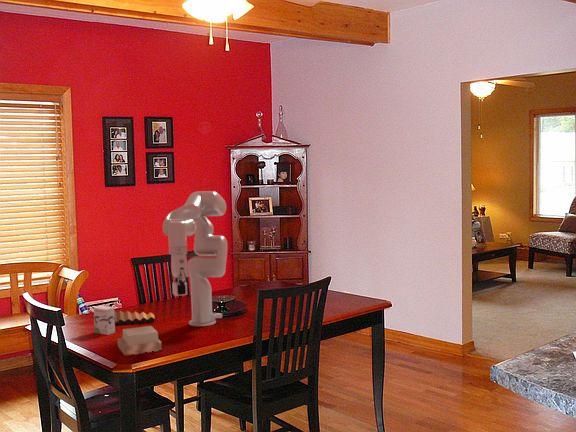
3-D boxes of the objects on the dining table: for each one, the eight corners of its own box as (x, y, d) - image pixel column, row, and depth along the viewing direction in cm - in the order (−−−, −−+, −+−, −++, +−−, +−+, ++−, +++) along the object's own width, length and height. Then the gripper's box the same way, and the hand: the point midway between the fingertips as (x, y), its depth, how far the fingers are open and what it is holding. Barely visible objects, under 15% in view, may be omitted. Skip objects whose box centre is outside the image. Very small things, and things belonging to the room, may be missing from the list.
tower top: (151, 335, 293) (151, 325, 293) (158, 341, 282) (157, 332, 282) (122, 338, 288) (122, 329, 288) (128, 345, 277) (128, 336, 277)
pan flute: (102, 316, 349) (101, 328, 324) (101, 309, 348) (101, 320, 324) (152, 312, 355) (155, 323, 331) (152, 305, 354) (155, 316, 330)
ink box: (93, 333, 313) (92, 307, 312) (101, 330, 317) (100, 305, 316) (108, 335, 309) (106, 309, 308) (115, 332, 313) (114, 306, 312)
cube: (184, 292, 295) (183, 281, 295) (187, 294, 291) (186, 283, 290) (172, 293, 293) (172, 282, 293) (175, 296, 289) (175, 284, 288)
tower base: (153, 343, 295) (153, 333, 295) (161, 351, 282) (161, 342, 281) (118, 347, 290) (117, 338, 289) (124, 357, 276) (124, 347, 275)
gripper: (192, 252, 284) (194, 295, 286) (181, 247, 299) (183, 288, 301) (174, 253, 281) (176, 297, 283) (164, 248, 296) (166, 290, 298)
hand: (179, 292), depth 292 cm, fingers closed on cube, 5 cm apart
